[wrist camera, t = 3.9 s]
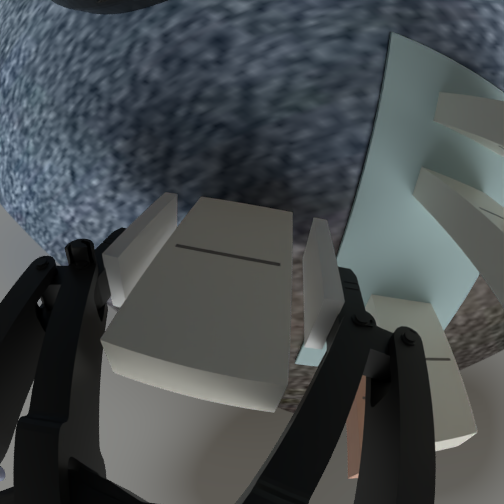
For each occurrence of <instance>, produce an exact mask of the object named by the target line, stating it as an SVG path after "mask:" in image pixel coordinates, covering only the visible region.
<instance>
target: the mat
mask: <svg viewBox="0 0 504 504" xmlns="http://www.w3.org/2000/svg"><path fill="white" fill-rule="evenodd" d="M439 92H445V93H455V94H463V95H470V96H477V97H483V98H489V99H494V100H499V101H504V92H502V91H501V90H500V89H498V88H497V87H495V86H494V85H493V84H491V83H490V82H488V81H487V80H485V79H484V78H482V77H481V76H479V75H477V74H476V73H474V72H473V71H471V70H469V69H468V68H466V67H464V66H463V65H461V64H459V63H457V62H456V61H454V60H452V59H450V58H448V57H446V56H445V55H443V54H441V53H439V52H437V51H435V50H433V49H431V48H429V47H426V46H424V45H422V44H420V43H418V42H415V41H413V40H411V39H408V38H406V37H404V36H401V35H399V34H396V33H393V32H391V33H390V38H389V46H388V52H387V59H386V65H385V71H384V77H383V83H382V88H381V93H380V98H379V103H378V108H377V113H376V117H375V122H374V126H373V131H372V135H371V139H370V143H369V148H368V152H367V156H366V159H365V163H364V167H363V171H362V175H361V178H360V182H359V185H358V189H357V192H356V196H355V199H354V203H353V206H352V209H351V213H350V216H349V219H348V222H347V226H346V229H345V232H344V235H343V238H342V241H341V244H340V247H339V250H338V253H337V256H336V260H337V265H338V267H343V268H349V269H351V270H352V271H353V272H354V274H355V275H356V276H357V280H358V283H359V284H358V285H359V287H360V291H361V295H362V298H363V302H364V306H366V304H367V302H368V300H369V298H370V296H371V294H373V295H379V296H385V297H392V298H398V299H405V300H411V301H418V302H425V303H431V304H432V307H433V309H434V311H435V313H436V315H437V317H438V320H439V322H440V324H441V326H442V329H443V331H444V329H445V328H446V326H447V325H448V324H449V322H450V321H451V319H452V318H453V316H454V315H455V313H456V312H457V310H458V309H459V307H460V306H461V304H462V303H463V301H464V299H465V298H466V296H467V294H468V293H469V291H470V290H471V288H472V286H473V284H474V283H475V281H476V279H477V277H478V276H479V274H480V273H479V271H478V270H477V269H476V267H475V266H474V265H473V263H472V262H471V261H470V260H469V258H468V257H467V256H466V254H465V253H464V252H463V251H462V249H461V248H460V247H459V246H458V245H457V243H456V242H455V241H454V240H453V239H452V237H451V236H450V235H449V234H448V233H447V232H446V231H445V229H444V228H443V227H442V226H441V225H440V224H439V223H438V222H437V220H436V219H435V218H434V217H433V216H432V215H431V214H430V213H429V212H428V211H427V210H426V209H425V208H424V207H423V205H422V204H421V203H420V202H419V201H418V200H417V199H416V198H415V197H414V196H413V192H414V189H415V186H416V183H417V179H418V176H419V173H420V170H421V167H424V168H427V169H429V170H432V171H435V172H437V173H440V174H442V175H445V176H447V177H450V178H452V179H455V180H457V181H459V182H462V183H464V184H466V185H469V186H471V187H473V188H475V189H477V190H480V191H482V192H484V193H485V194H487V195H488V196H489V197H491V198H492V199H493V200H495V201H496V202H497V203H498V204H500V205H501V206H502V207H503V208H504V157H502V156H500V155H498V154H496V153H495V152H493V151H491V150H490V149H488V148H486V147H484V146H483V145H481V144H479V143H477V142H475V141H474V140H472V139H470V138H468V137H466V136H464V135H462V134H460V133H458V132H456V131H454V130H452V129H450V128H448V127H446V126H444V125H441V124H439V123H437V122H435V121H433V120H434V116H435V111H436V107H437V102H438V96H439ZM326 350H327V345H326V342H325V344H324V346H323V348H322V349H314V348H306V347H304V342H303V345H302V347H301V349H300V352H299V354H298V356H297V358H296V361H295V364H302V365H310V366H318V365H319V363H320V362H321V360H322V358H323V356H324V354H325V352H326Z"/></svg>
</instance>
